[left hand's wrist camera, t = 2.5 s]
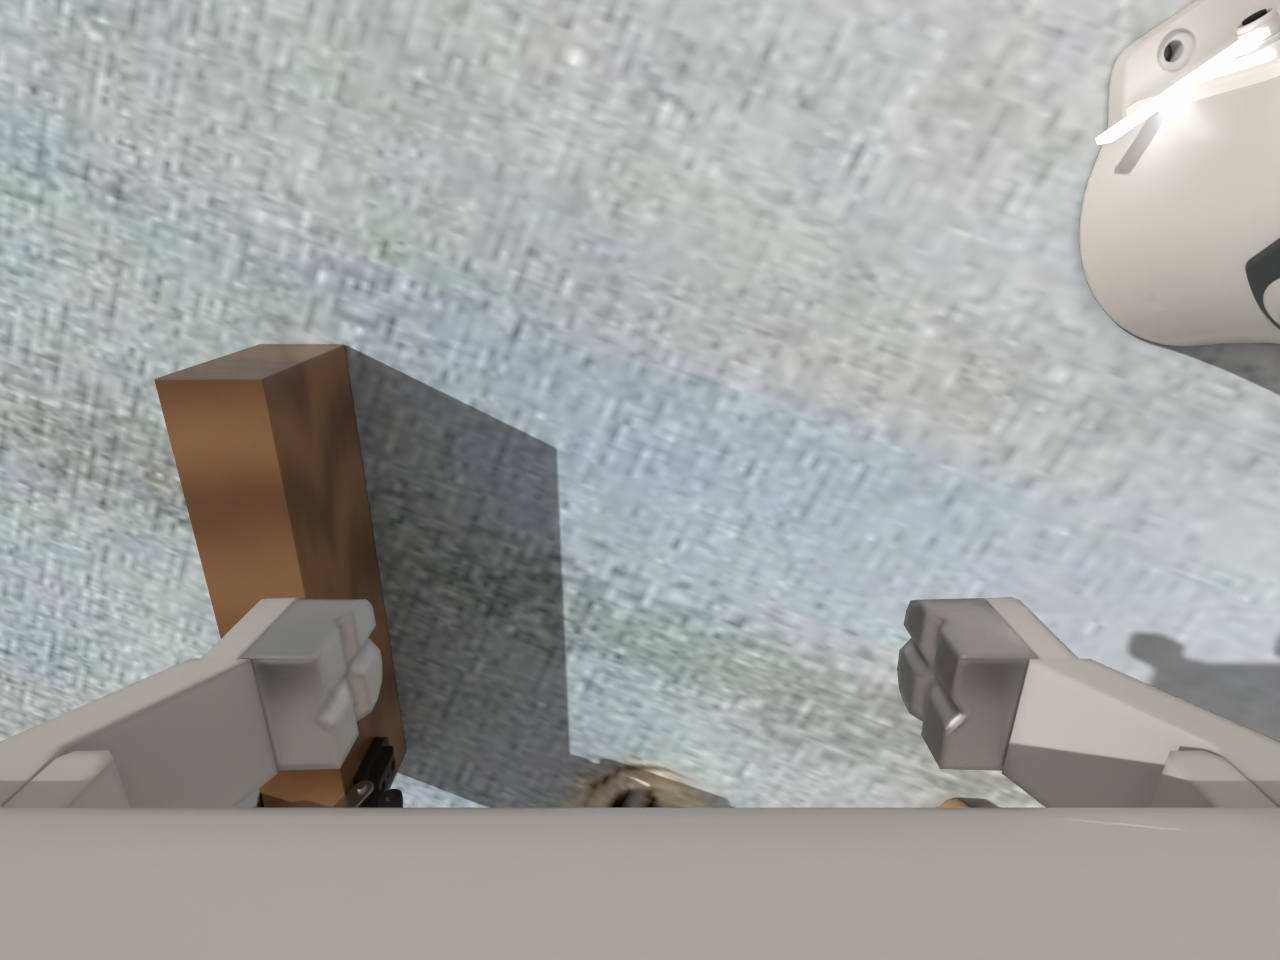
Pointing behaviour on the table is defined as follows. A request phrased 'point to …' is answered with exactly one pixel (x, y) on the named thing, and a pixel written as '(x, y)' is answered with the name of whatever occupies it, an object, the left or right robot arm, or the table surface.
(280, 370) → the bar
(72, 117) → the table surface
